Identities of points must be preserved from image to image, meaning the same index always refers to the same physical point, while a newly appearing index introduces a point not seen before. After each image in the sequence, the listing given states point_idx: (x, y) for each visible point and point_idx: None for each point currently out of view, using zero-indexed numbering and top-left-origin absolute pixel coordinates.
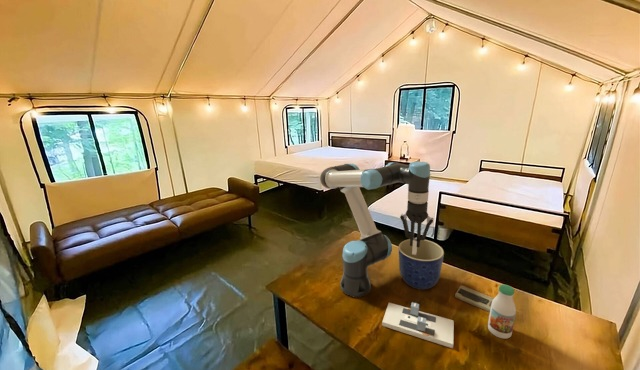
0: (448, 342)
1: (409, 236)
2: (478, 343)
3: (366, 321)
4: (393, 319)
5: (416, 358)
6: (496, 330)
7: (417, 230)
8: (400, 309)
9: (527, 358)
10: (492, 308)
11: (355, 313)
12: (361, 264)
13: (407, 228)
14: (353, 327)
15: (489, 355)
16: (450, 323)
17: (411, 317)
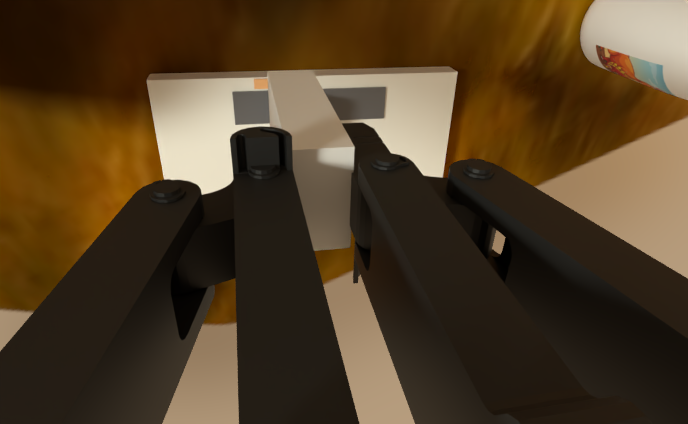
0: None
1: (224, 266)
2: (520, 123)
3: (99, 209)
4: (210, 179)
5: (324, 266)
6: (609, 70)
7: (412, 401)
8: (221, 105)
9: (646, 117)
10: (661, 68)
11: (23, 191)
12: None
13: (149, 397)
14: (67, 258)
15: (539, 157)
16: (442, 95)
17: None
